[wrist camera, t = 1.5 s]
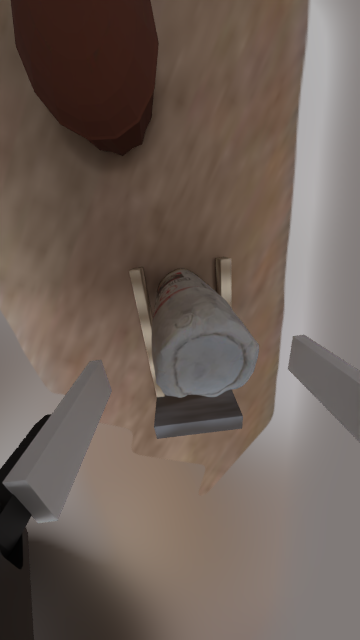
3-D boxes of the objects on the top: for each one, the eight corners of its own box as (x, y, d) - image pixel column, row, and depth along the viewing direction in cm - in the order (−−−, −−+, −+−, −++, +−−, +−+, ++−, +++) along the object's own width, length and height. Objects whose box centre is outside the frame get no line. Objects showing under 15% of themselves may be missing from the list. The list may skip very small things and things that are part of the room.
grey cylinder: (202, 261, 27) (266, 293, 9) (211, 309, 30) (273, 405, 12) (150, 276, 28) (110, 333, 9) (165, 321, 31) (156, 431, 13)
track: (133, 268, 27) (116, 278, 19) (225, 257, 27) (249, 261, 19) (160, 396, 38) (157, 438, 29) (226, 388, 38) (242, 428, 29)
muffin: (154, 179, 23) (143, 134, 14) (65, 157, 22) (-13, 91, 12) (168, 44, 19) (166, -154, 9) (58, 7, 17) (-71, -267, 8)
